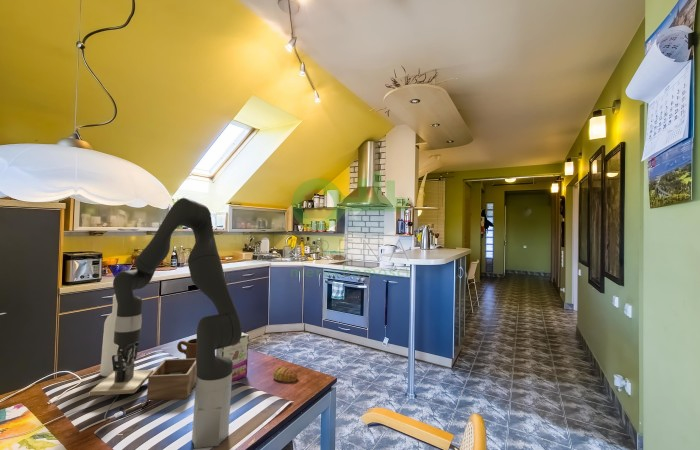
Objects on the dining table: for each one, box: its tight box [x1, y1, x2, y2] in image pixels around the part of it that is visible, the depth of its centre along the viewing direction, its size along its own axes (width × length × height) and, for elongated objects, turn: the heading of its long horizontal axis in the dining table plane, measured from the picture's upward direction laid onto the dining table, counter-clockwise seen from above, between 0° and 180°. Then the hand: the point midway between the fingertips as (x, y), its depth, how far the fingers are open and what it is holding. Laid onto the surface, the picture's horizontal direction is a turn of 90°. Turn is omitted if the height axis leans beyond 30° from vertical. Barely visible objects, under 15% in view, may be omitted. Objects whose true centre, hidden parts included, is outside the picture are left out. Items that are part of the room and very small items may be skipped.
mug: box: [176, 337, 197, 359], centre depth 130 cm, size 12×8×9 cm, turn 89°
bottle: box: [99, 294, 124, 377], centre depth 119 cm, size 8×8×30 cm
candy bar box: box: [215, 331, 250, 382], centre depth 118 cm, size 11×5×16 cm, turn 143°
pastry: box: [272, 366, 299, 383], centre depth 120 cm, size 9×7×4 cm
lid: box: [88, 361, 154, 396], centre depth 104 cm, size 15×13×7 cm
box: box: [146, 358, 197, 402], centre depth 108 cm, size 14×12×8 cm
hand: (124, 378), depth 104 cm, fingers closed on lid, 4 cm apart
